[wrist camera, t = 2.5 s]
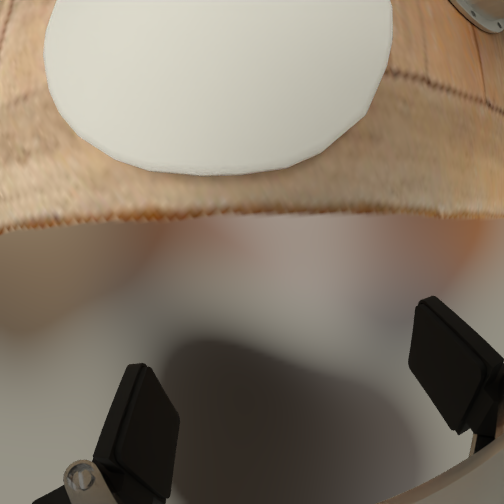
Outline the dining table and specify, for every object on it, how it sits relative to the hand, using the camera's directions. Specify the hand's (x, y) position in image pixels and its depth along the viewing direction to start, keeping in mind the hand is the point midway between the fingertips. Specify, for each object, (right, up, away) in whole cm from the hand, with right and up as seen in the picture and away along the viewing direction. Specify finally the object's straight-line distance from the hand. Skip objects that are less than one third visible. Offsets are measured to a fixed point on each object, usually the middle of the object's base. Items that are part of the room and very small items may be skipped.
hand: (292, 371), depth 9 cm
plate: (-4, +23, +7) cm, 25 cm away
